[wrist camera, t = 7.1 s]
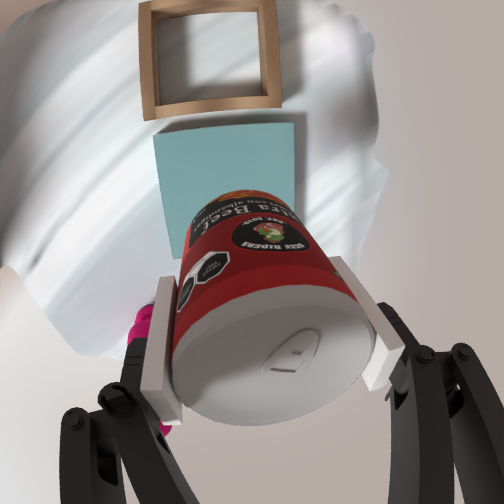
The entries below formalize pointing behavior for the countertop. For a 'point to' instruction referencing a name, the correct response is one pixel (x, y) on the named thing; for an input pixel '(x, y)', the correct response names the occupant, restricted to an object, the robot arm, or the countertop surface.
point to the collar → (190, 3)
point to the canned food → (262, 316)
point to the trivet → (221, 168)
